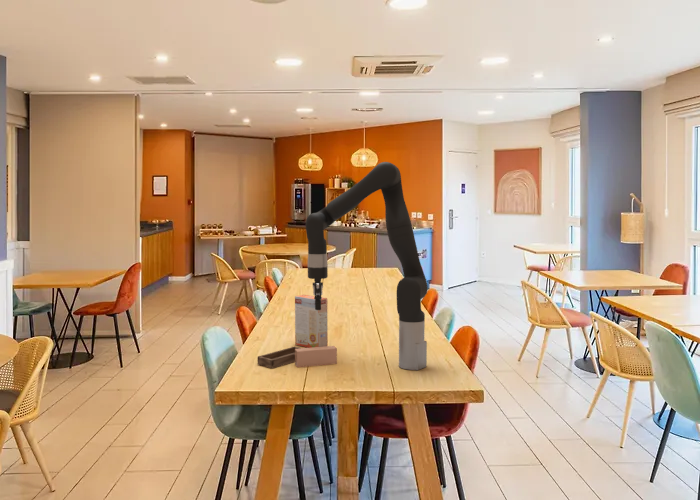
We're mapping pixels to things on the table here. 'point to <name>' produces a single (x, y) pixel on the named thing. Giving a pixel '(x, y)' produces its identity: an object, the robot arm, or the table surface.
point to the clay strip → (315, 356)
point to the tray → (278, 358)
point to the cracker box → (310, 322)
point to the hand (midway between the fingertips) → (318, 307)
